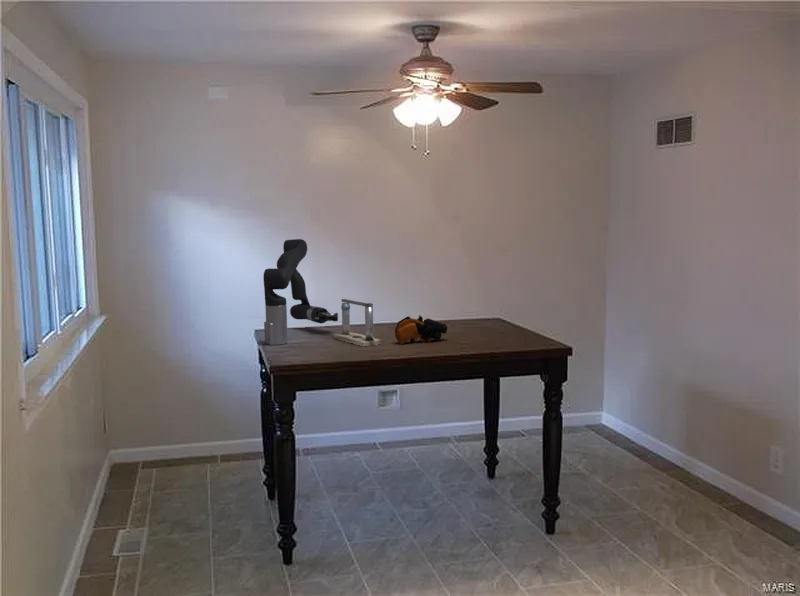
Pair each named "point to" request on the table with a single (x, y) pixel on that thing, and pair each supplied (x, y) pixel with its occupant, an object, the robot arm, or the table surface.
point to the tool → (418, 329)
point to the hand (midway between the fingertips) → (336, 319)
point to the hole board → (357, 339)
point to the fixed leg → (367, 317)
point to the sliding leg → (345, 318)
